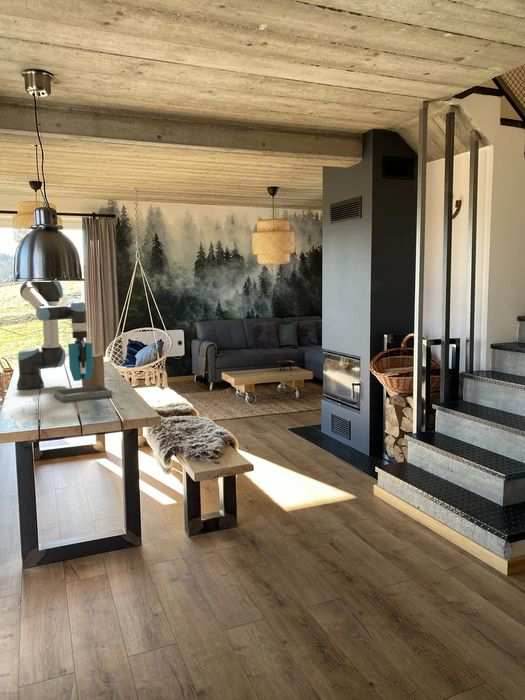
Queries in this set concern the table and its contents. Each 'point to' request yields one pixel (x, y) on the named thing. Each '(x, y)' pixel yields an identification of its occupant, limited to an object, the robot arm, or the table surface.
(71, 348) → the block
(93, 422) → the table surface
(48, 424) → the table surface
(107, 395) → the tray
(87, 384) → the wooden block
